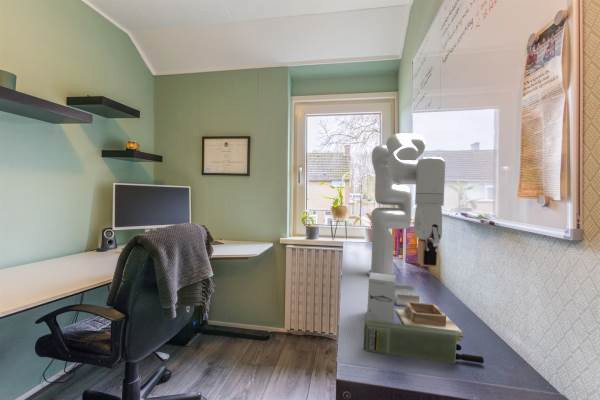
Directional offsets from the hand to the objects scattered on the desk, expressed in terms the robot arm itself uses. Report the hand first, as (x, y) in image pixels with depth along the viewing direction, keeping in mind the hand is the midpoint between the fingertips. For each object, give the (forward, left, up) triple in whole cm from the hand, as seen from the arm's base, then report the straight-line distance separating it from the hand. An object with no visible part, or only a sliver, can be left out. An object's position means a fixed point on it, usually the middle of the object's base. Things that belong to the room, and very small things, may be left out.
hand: (426, 262), depth 77 cm
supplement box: (+2, -13, -17) cm, 22 cm away
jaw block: (0, 0, -1) cm, 1 cm away
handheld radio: (+19, -7, -18) cm, 27 cm away
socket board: (+1, 0, -17) cm, 17 cm away
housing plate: (-14, -2, -17) cm, 22 cm away
